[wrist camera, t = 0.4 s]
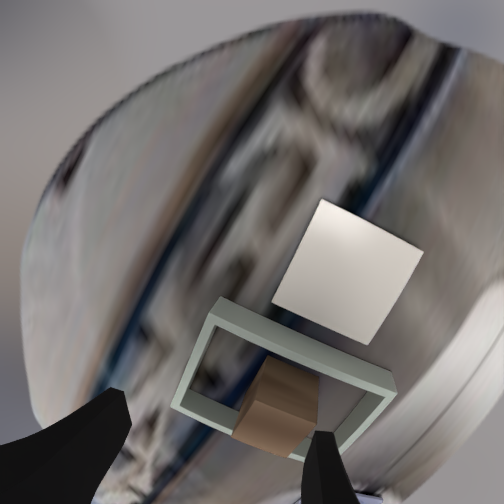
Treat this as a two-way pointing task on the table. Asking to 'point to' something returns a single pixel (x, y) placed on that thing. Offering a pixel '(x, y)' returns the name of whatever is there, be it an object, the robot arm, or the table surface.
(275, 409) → the walnut block
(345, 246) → the tile
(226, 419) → the green rectangular frame
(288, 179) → the table surface
